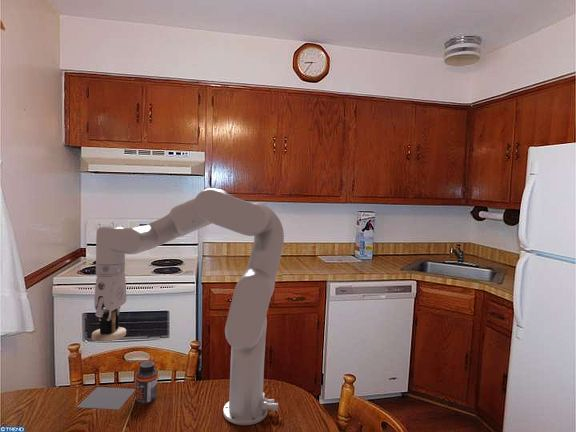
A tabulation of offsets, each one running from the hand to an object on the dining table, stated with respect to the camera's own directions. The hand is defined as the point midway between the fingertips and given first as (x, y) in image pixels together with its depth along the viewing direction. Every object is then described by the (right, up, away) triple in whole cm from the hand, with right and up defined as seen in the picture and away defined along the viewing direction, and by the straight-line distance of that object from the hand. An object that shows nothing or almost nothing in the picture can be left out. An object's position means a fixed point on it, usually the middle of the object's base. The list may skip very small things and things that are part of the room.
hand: (109, 330), depth 107 cm
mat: (-1, -21, +1) cm, 21 cm away
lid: (0, -1, 0) cm, 1 cm away
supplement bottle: (+10, -22, +2) cm, 24 cm away
